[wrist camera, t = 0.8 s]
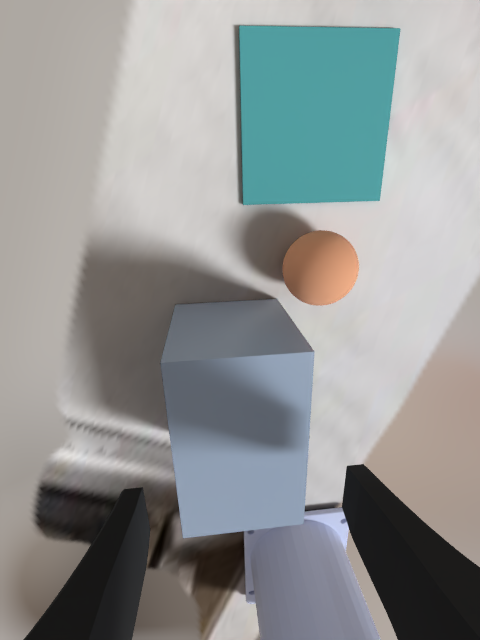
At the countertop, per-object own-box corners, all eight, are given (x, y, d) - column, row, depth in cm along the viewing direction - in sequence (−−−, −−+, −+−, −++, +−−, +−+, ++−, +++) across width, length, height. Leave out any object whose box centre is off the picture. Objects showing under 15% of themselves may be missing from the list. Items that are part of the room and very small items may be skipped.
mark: (377, 200, 17) (379, 200, 17) (243, 204, 16) (243, 204, 16) (397, 30, 14) (400, 28, 14) (239, 27, 14) (239, 25, 13)
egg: (338, 292, 18) (368, 313, 15) (275, 295, 18) (291, 318, 15) (343, 225, 17) (377, 233, 14) (276, 228, 17) (294, 236, 13)
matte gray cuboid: (275, 429, 21) (303, 524, 15) (189, 437, 21) (183, 538, 15) (277, 298, 18) (314, 351, 12) (175, 304, 18) (160, 362, 12)
